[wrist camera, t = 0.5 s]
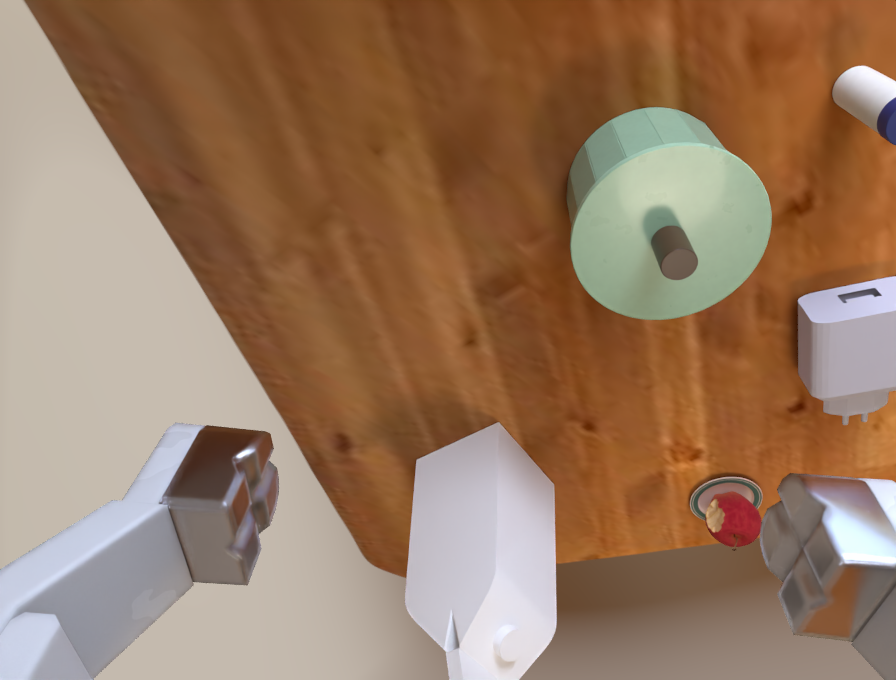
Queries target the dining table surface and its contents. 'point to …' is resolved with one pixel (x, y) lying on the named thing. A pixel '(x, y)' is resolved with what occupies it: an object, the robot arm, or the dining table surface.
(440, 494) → the milk
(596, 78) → the dining table surface
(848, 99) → the glue stick
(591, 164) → the tin
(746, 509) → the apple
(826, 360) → the charger
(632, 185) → the tin lid
